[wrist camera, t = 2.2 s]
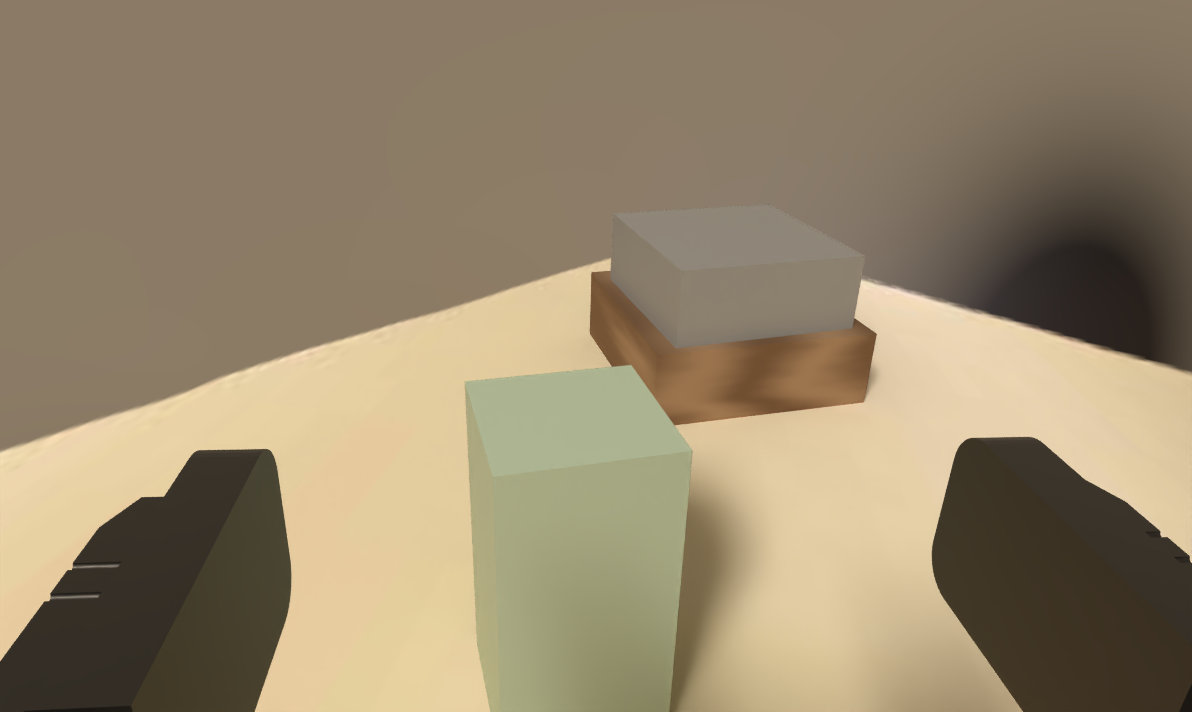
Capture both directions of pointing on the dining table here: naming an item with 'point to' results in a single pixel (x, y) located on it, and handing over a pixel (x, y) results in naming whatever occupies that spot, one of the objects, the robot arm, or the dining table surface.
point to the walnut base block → (731, 364)
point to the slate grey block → (733, 274)
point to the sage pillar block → (576, 540)
